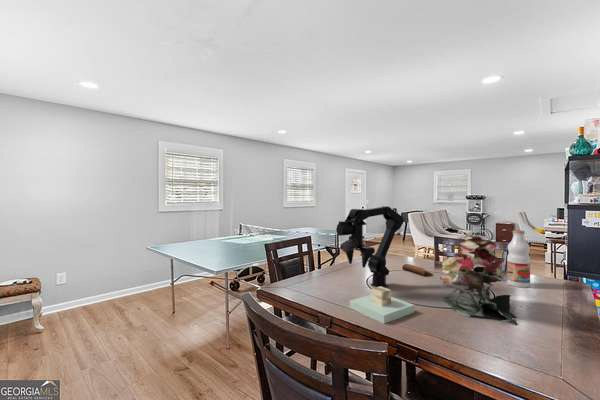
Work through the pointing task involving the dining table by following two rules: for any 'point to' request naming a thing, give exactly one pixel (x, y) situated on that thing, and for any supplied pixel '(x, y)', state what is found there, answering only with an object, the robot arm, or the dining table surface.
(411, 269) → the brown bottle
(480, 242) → the rose bouquet
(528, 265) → the fruit juice
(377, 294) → the maple cube
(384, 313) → the platform
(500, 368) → the dining table surface
